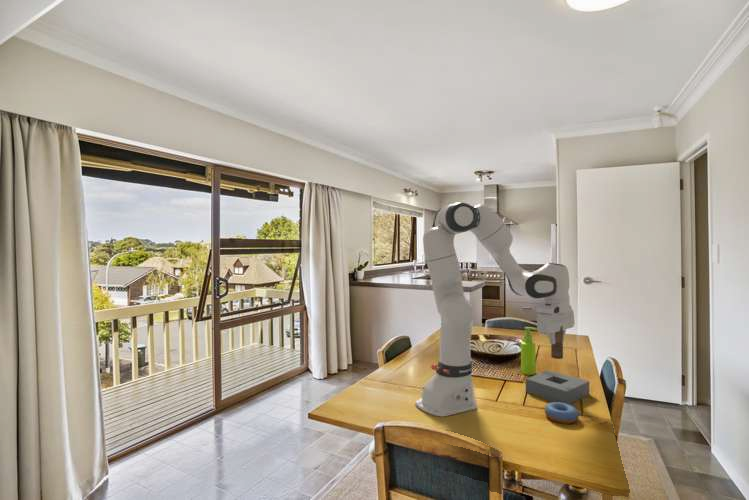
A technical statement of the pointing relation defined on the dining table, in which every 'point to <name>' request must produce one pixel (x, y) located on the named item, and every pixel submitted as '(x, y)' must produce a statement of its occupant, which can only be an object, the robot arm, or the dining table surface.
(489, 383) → the dining table surface
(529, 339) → the soap dispenser
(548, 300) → the robot arm
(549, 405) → the doughnut
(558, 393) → the socket block
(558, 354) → the peg
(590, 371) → the dining table surface
